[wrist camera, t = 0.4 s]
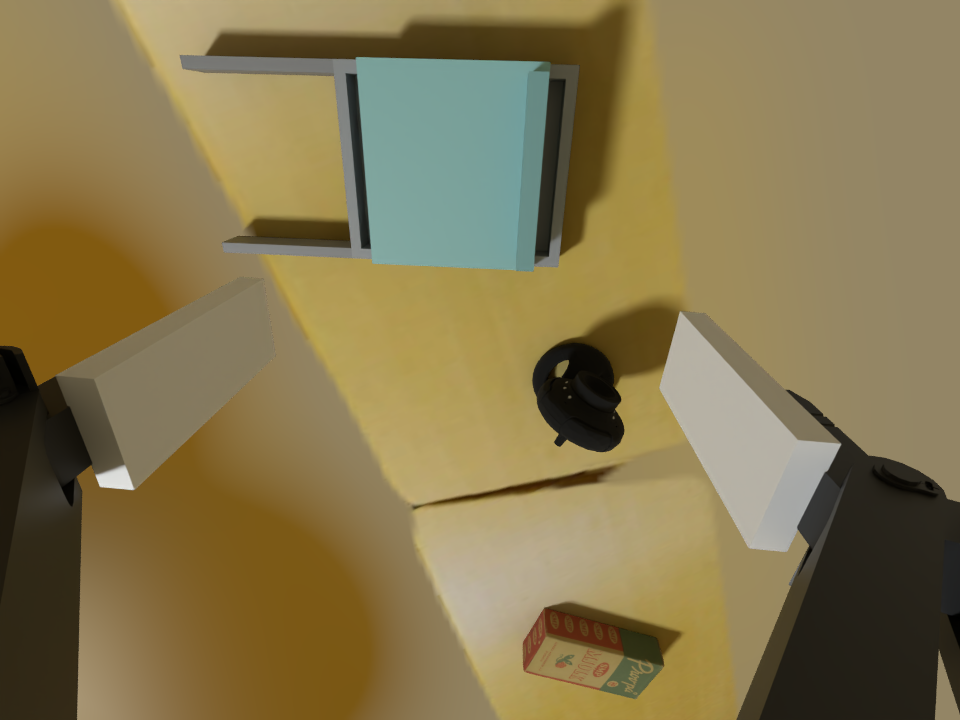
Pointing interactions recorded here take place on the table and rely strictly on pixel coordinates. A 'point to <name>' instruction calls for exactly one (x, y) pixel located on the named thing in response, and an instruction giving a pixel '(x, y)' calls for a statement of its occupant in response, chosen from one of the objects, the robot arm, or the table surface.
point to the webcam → (579, 397)
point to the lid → (453, 160)
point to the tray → (349, 117)
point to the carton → (591, 654)
